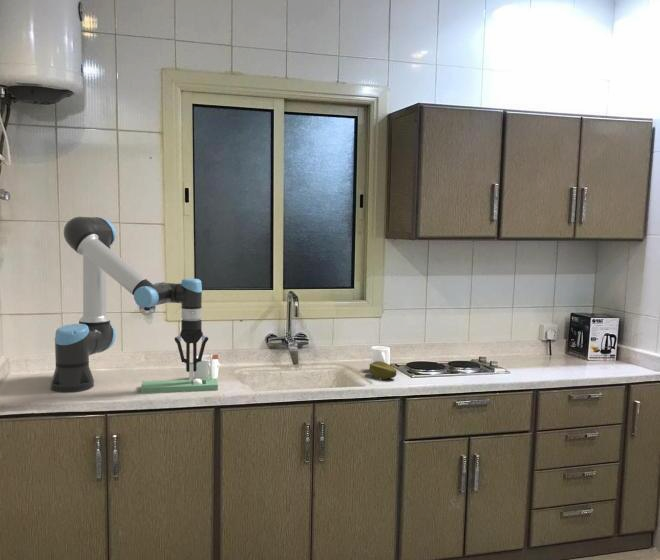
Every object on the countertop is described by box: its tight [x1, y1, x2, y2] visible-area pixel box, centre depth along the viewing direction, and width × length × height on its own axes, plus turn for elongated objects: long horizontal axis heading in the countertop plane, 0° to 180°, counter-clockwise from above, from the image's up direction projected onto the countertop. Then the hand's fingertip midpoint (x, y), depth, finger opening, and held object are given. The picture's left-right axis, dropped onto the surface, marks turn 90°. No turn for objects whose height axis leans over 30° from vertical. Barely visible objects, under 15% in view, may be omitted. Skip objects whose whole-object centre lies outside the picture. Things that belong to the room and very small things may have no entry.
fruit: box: [368, 361, 397, 380], centre depth 254 cm, size 11×12×7 cm
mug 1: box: [193, 354, 221, 380], centre depth 242 cm, size 12×10×9 cm
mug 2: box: [370, 345, 391, 366], centre depth 264 cm, size 12×8×10 cm
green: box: [140, 354, 219, 394], centre depth 229 cm, size 29×10×12 cm, turn 105°
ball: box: [193, 378, 202, 384], centre depth 230 cm, size 4×4×4 cm
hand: (191, 379), depth 230 cm, fingers closed
